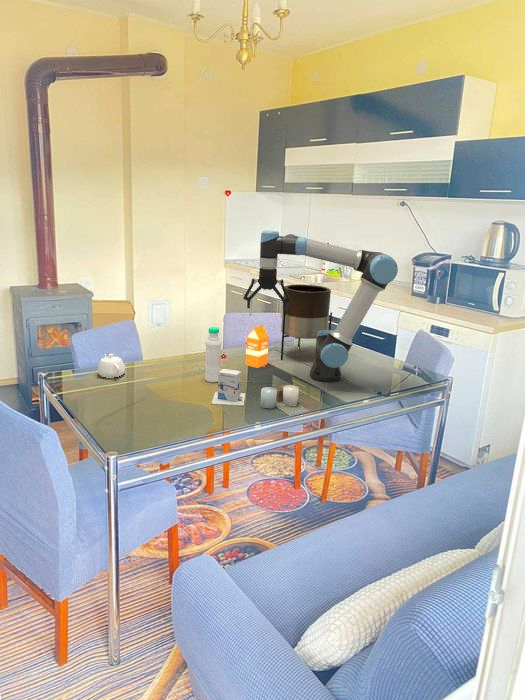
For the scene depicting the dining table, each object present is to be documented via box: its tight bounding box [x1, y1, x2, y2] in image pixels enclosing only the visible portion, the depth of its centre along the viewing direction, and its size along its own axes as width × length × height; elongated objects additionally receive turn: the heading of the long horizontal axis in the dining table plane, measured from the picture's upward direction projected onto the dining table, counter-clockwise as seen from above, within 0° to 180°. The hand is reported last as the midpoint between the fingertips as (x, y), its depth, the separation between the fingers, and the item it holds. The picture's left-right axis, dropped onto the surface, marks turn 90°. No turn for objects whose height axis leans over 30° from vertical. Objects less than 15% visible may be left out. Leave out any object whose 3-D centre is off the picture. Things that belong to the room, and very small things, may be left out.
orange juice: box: [245, 324, 269, 369], centre depth 259 cm, size 8×9×20 cm
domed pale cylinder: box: [259, 386, 277, 409], centre depth 208 cm, size 6×6×7 cm
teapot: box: [96, 353, 127, 379], centre depth 235 cm, size 20×12×10 cm, turn 34°
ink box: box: [217, 368, 242, 401], centre depth 212 cm, size 9×5×12 cm, turn 72°
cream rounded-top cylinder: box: [281, 384, 300, 407], centre depth 212 cm, size 6×6×7 cm
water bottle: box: [204, 326, 222, 383], centre depth 232 cm, size 7×7×25 cm
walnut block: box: [272, 385, 285, 402], centre depth 217 cm, size 5×5×5 cm
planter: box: [280, 283, 333, 361], centre depth 274 cm, size 27×26×38 cm
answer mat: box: [211, 391, 246, 407], centre depth 214 cm, size 13×13×1 cm
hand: (265, 316), depth 225 cm, fingers open, 13 cm apart
